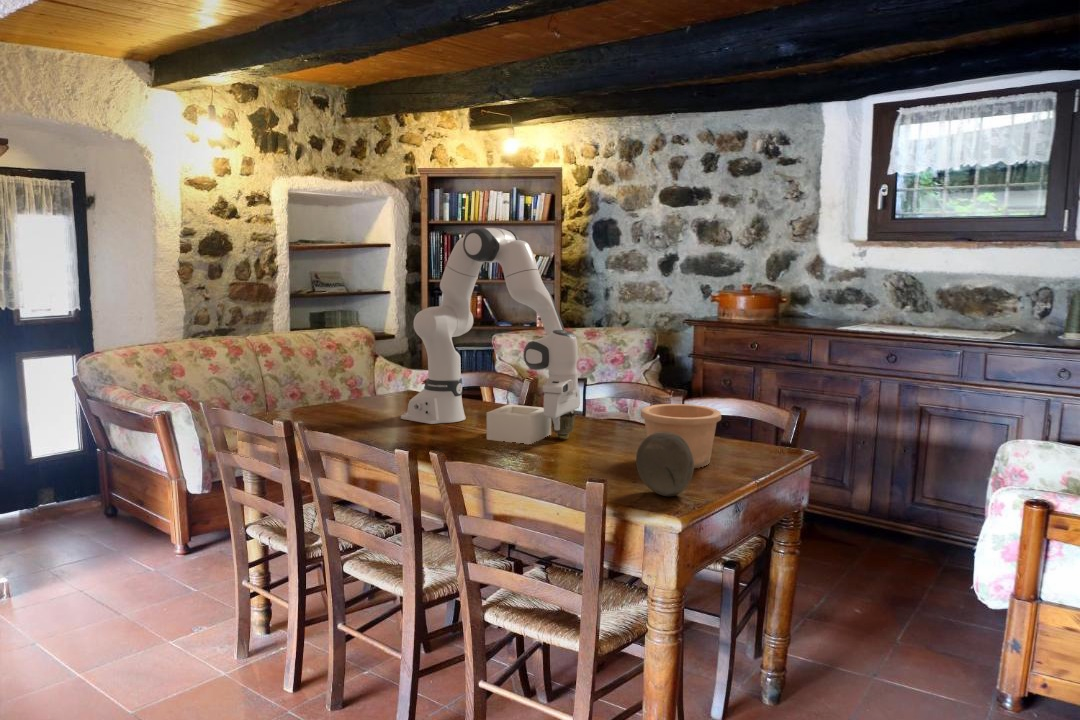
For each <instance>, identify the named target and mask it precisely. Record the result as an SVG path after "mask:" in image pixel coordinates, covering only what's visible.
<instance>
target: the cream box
mask: <svg viewBox="0 0 1080 720" xmlns="http://www.w3.org/2000/svg"><path fill="white" fill-rule="evenodd" d="M549 435H550V436H551V435H552V419H551V418H546V417H545V414H544V407H540V406H530V405H520V404H505V405H503V406H500V407H498V408H495V409H493V410H490V411H487V412H486V440H488V441H496V442H503V441H505V443H512V442H516V443H515V444H520V443H524V444H523V445H529V444H531V445H533V444H535V443H537V442H540V441H541V440H543V439H545V437H546V438H548V437H549ZM547 436H548V437H547ZM536 441H537V442H536ZM534 442H535V443H534ZM532 443H533V444H532Z"/></svg>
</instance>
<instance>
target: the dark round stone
mask: <svg viewBox="0 0 1080 720" xmlns="http://www.w3.org/2000/svg"><path fill="white" fill-rule="evenodd" d="M635 462H636V470H637V473H638V475H639V477H640V479H641V481H642V482H643V483H644V484H645V487H648V489H649V490H651V491H653V492H654V493H656V494H658V495H659V496H664V497H674V496H677V495H680V494H681V493H683V492H684V491H685V490H686V489H687V487H688V486H689V484H690V483H691V480H692V478H693V475H694V471H695V469H694V460H693V455H692V453H691V450H690V448H689V446H688V444H687V443H686V441H685V440H684V439H683V438H681V437H680V436H679V435H677V434H671V433H660V432H659V433H654V434H652V435H650V436H648V437H647V436H646V438H645V439H643V441H642V442H641V444H640V445H639V447H638V449H637V451H636V459H635Z"/></svg>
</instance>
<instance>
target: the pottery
mask: <svg viewBox="0 0 1080 720" xmlns="http://www.w3.org/2000/svg"><path fill="white" fill-rule="evenodd" d="M640 418H642V419H644V426H645V433H646V435H645V436H646V438H647V437H648V436H650V435H652V434H654V433H659V432H660V433H671V434H677V435H679V436H680V437H681V438H683V439H684V440H685V441H686V443H687V444H688V446H689V448H690V450H691V453H692V455H693V460H694V468H698V469H701V468H700V467H702V468H704V467H703V466H706V465H707V466H708V464H709V463H711V456H712V450H713V446H714V440H715V434H716V429H717V424H718V422H720V421H721V420H722V412H721V411H720V410H718V409H716V408H713V407H708V406H704V405H697V404H685V403H665V404H664V403H662V404H661V403H660V404H651V405H646V406H644V407H642V408H641V410H640ZM709 465H710V464H709ZM707 466H706V467H707Z"/></svg>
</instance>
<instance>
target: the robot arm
mask: <svg viewBox="0 0 1080 720" xmlns="http://www.w3.org/2000/svg"><path fill="white" fill-rule="evenodd" d="M448 257H449V258H448V259H447V261H446V266H445V268H444V271H443V274H442V277H441V280H440V283H439V289H440V291H441V292H442V302H441V304H440V305H438V306H429V307H426V308H424V309H422V310H420V311H419V312H417V313H416V315H414V319H413V329H414V331H415V333H416V335H417V336H418V337H419V338H420V339H421V340H422V342H423V345H424V348H425V351H426V355H427V375H428V376H427V377H428V378H426V379H425V380H422V381H421V385H424V387H423V389H422V390H421V391H419V392H417V394H416V395H414V396H413V397H412V398H411V399H410V400H409V401H408V404H407V409H406V412H404V413H403V414H401V415H400V420H401V419H402V420H406V421H407V420H408V421H412V422H417V423H422V424H423V423H424V424H429V425H433V424H434V425H436V424H447V423H449V424H451V423H457V422H461V421H462V422H463V421H465V420H466V418H467V417H466V415H465V411H464V406H463V398H462V394H463V378H462V373H461V371H462V369H461V368H462V367H461V364H462V363H461V359H462V358H461V354H460V353H459V352H458V351H457V350H456V349H455V346H454V343H453V338H455V337H460V336H462V335H464V334H466V333H468V332H469V331H470V330H471V329H472V327H473V325H474V315H473V313H472V312H471V301H472V294H473V292H474V288H475V286H476V283H477V280H478V277H479V274H480V270H481V268H482V265H483V264H484V263H489V264H490V263H493V264H494V263H498V264H499V265H500V267H501V269H502V271H503V272H502V273H503V277H504V281H505V284H506V285H505V286H506V289H507V292H508V293H509V296H510V297H511V298H512V299H513V300H514V301H515V302H517V303H519V304H522V305H524V306H527V307H529V308H531V309H532V310H533V311H535V312H536V313H537V314H538V316H539V317H540V320H541V324H542V327H543V329H544V331H545V334H546V336H543V337H541V338H538V339H534V340H532V341H529V342H527V344H526V345H525V346H524V348H523V349H524V350H523V355H522V356H523V359H524V360H523V361H524V362H525V365H526V366H527V367H528V368H529V369H530V370H533V371H543V370H544V371H545V370H548V378H547V380H546V382H545V383H543V385H542V392H543V393H544V395H543V408H544V414H545V417H546V418H552V419H551V421H552V420H553V423H554V430H560V429H561V424H560V416H562V415H564V414H568V415H569V413H570V412H572V413H574V411H575V410H577V409H579V408H580V406H581V394H580V386H578V379H579V377H578V369H577V366H578V365H577V364H578V362H579V361H578V360H579V347H578V339H577V336H576V335H575V333H573V332H572V331H569V330H566V329H565V327H564V324H563V321H562V319H561V316H560V314H559V310H558V308H557V305H556V303H555V301H554V298H553V295H552V294H551V292H550V291H548V289H547V288H546V286H545V284H544V282H543V280H542V277H541V274H540V271H539V266H538V263H537V260H536V258H535V255H534V251H533V250H532V248H531V245H530V244H529V243H528V242H527V241H525V240H521V238H520V236H519V235H518V234H517V233H516V232H514V231H512V230H510V229H503V228H499V227H476V228H473V229H471V230H469V231H468V232H466V234H465V235H464V237H461V238H459V240H457V242H456V243H455V245H454V246H453V249H452V251H451V252H450V255H449V256H448ZM554 430H553V431H554Z"/></svg>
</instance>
